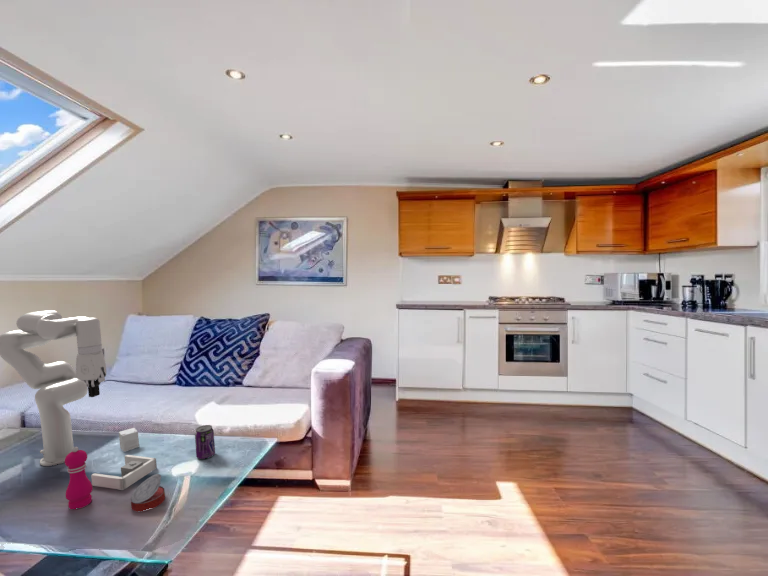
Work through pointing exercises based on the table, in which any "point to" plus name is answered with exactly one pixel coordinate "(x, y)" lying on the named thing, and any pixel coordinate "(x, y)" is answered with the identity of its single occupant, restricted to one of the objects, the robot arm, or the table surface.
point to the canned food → (148, 494)
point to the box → (128, 479)
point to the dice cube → (130, 467)
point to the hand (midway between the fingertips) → (94, 395)
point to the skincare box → (128, 439)
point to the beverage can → (204, 442)
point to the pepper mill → (78, 480)
